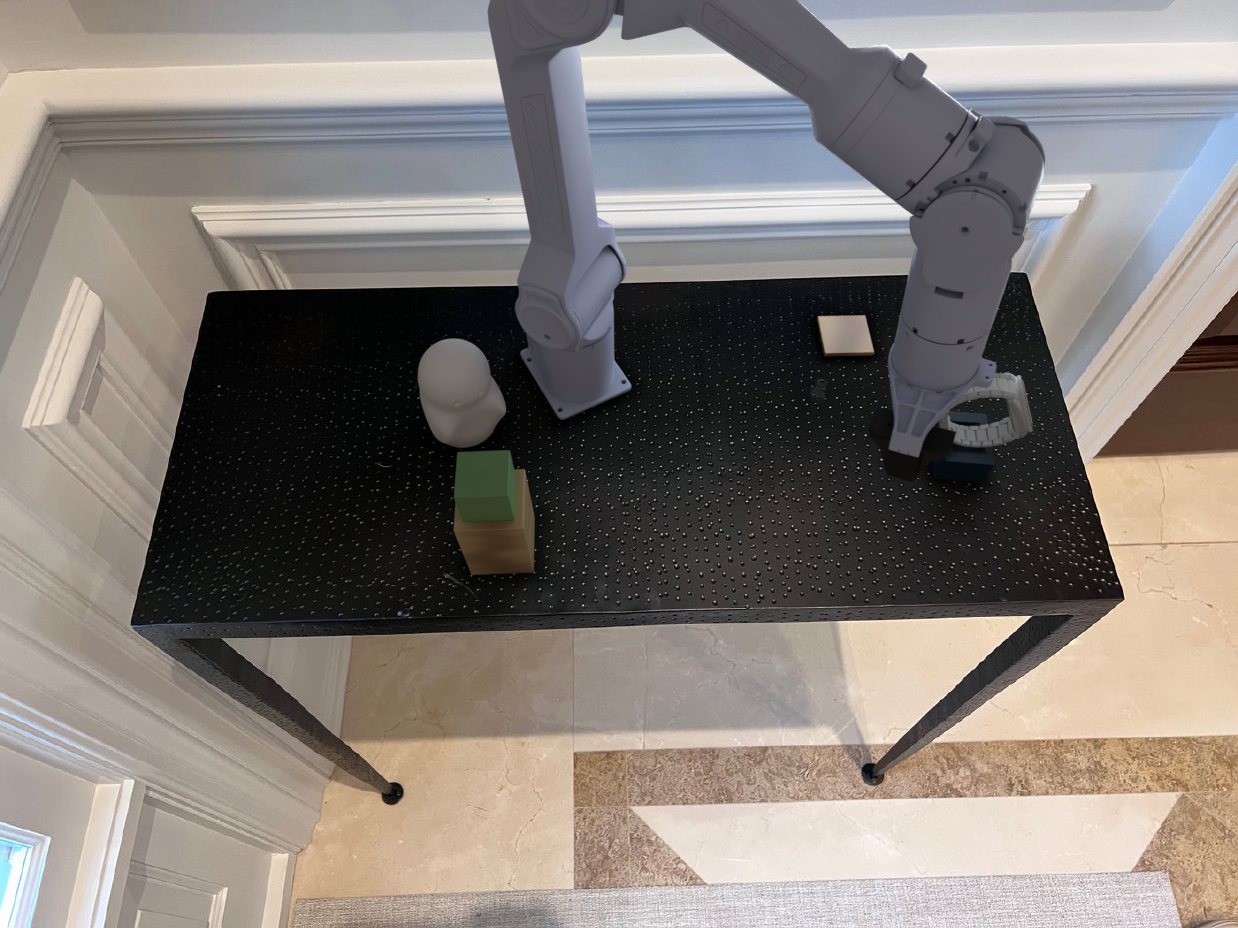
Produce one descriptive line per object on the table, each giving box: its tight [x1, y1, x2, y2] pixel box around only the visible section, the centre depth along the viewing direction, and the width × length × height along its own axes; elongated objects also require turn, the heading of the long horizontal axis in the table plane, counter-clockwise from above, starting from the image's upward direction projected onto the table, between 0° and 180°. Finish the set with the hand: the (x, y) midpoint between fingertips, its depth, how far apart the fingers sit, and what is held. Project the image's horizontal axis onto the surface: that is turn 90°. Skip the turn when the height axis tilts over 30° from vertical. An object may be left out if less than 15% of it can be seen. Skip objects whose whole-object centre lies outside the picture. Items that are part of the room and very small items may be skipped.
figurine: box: [417, 338, 507, 449], centre depth 71 cm, size 7×8×12 cm
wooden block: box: [453, 468, 536, 576], centre depth 66 cm, size 5×5×8 cm
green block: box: [453, 449, 516, 522], centre depth 60 cm, size 4×4×4 cm
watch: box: [931, 372, 1034, 483], centre depth 69 cm, size 6×8×11 cm
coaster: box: [816, 314, 875, 357], centre depth 81 cm, size 5×5×1 cm
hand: (913, 437), depth 63 cm, fingers open, 7 cm apart
